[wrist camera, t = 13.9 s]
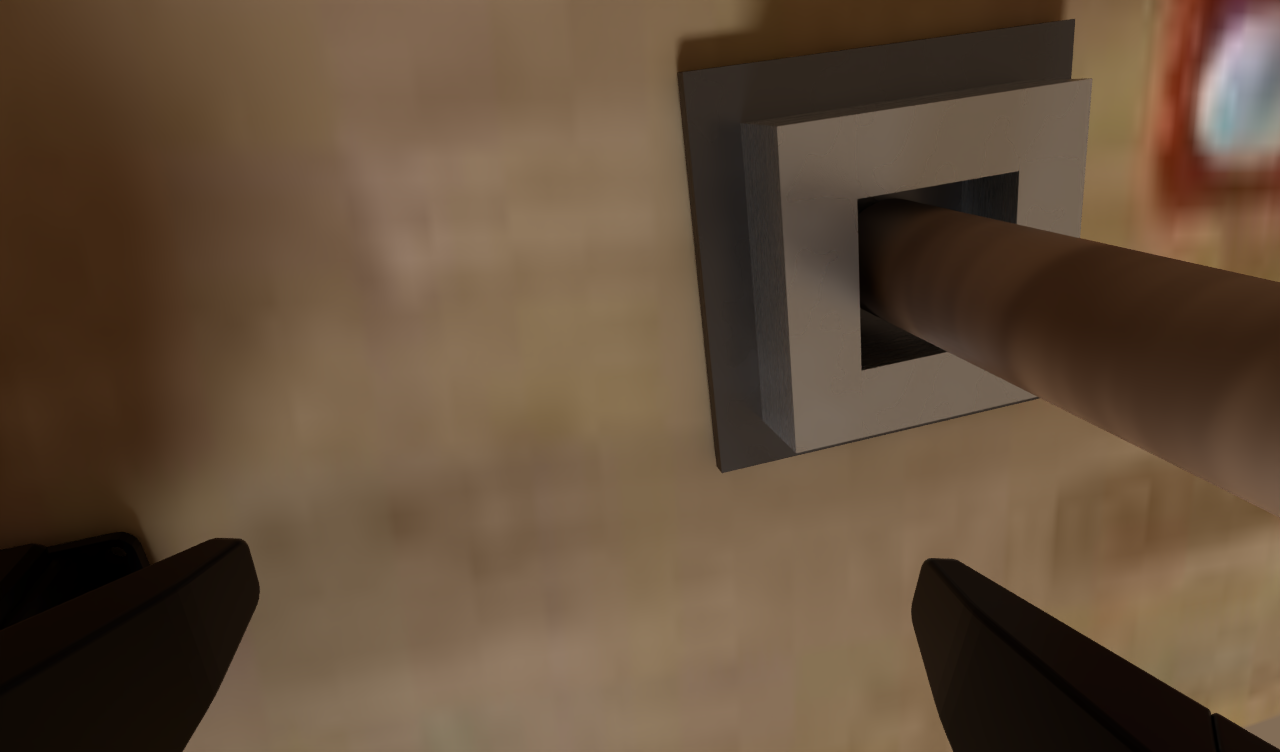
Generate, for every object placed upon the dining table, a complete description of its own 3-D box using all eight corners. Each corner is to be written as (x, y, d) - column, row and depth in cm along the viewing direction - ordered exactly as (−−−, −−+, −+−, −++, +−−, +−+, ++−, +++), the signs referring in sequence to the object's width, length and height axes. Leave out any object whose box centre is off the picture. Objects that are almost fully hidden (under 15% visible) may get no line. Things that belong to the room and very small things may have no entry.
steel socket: (1039, 391, 28) (1105, 423, 25) (716, 466, 26) (750, 510, 23) (1062, 20, 23) (1146, 10, 21) (677, 72, 21) (713, 69, 19)
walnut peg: (923, 317, 25) (1613, 629, 10) (824, 307, 24) (1431, 637, 9) (952, 206, 24) (1764, 379, 9) (850, 191, 23) (1577, 360, 8)
